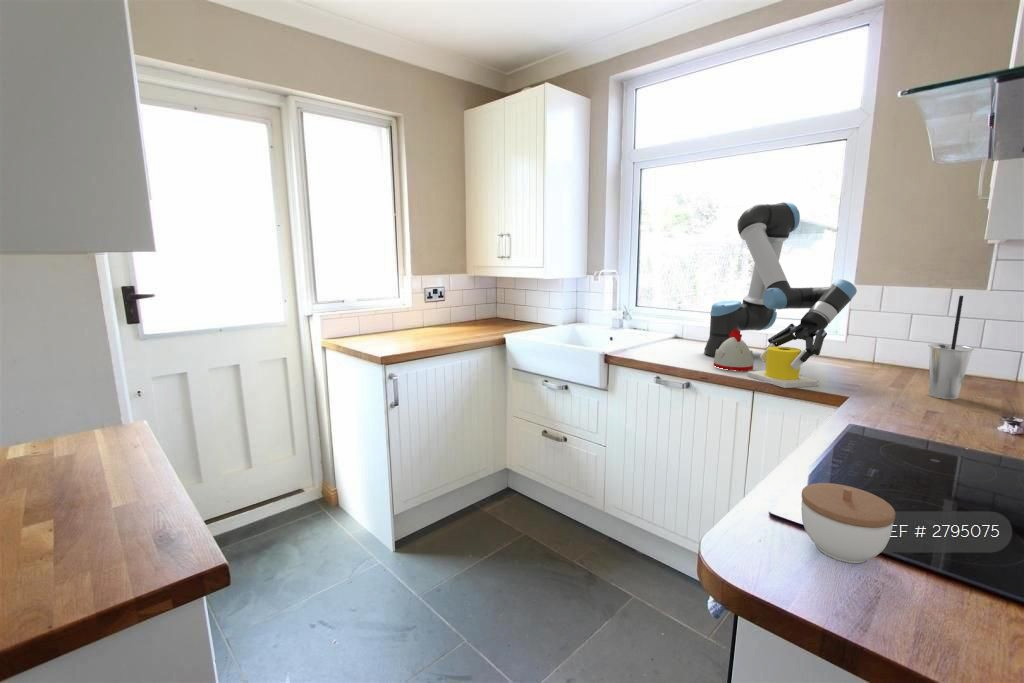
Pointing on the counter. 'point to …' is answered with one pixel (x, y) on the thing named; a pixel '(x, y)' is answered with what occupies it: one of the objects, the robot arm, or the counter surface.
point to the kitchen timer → (734, 354)
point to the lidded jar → (846, 521)
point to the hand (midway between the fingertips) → (776, 363)
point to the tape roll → (782, 363)
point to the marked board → (781, 382)
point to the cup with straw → (948, 365)
